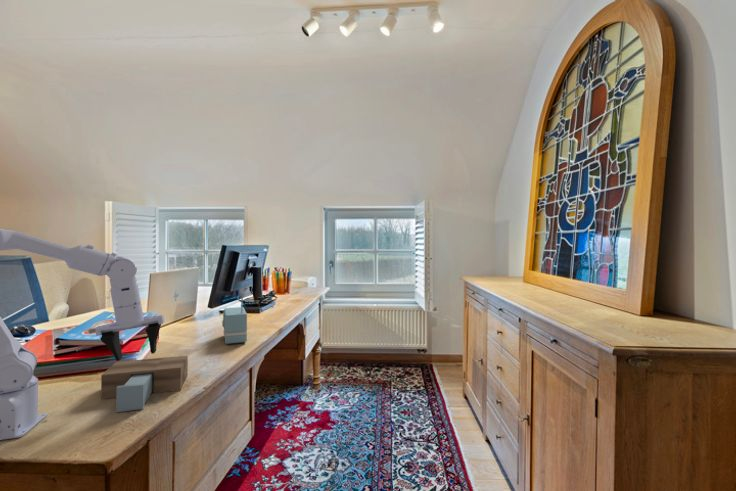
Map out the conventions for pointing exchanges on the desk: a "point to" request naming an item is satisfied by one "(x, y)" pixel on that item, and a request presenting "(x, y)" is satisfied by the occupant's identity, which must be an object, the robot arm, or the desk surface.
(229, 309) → the grey banded block
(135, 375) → the grey-blue rectangular bar
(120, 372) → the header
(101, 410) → the desk surface
